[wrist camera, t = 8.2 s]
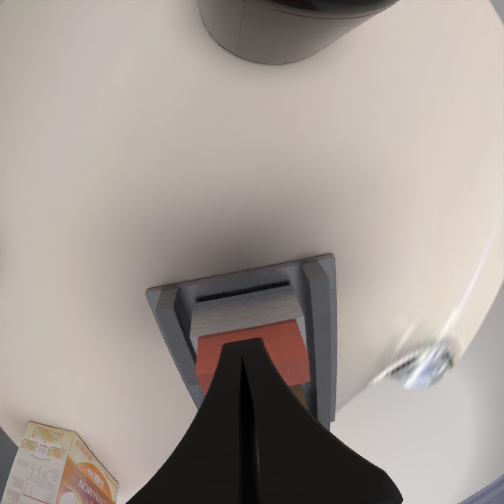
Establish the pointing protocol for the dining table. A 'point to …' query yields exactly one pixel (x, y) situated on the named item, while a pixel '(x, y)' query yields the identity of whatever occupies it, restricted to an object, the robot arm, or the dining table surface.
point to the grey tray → (291, 273)
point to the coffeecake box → (57, 471)
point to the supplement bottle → (284, 25)
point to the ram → (252, 331)
